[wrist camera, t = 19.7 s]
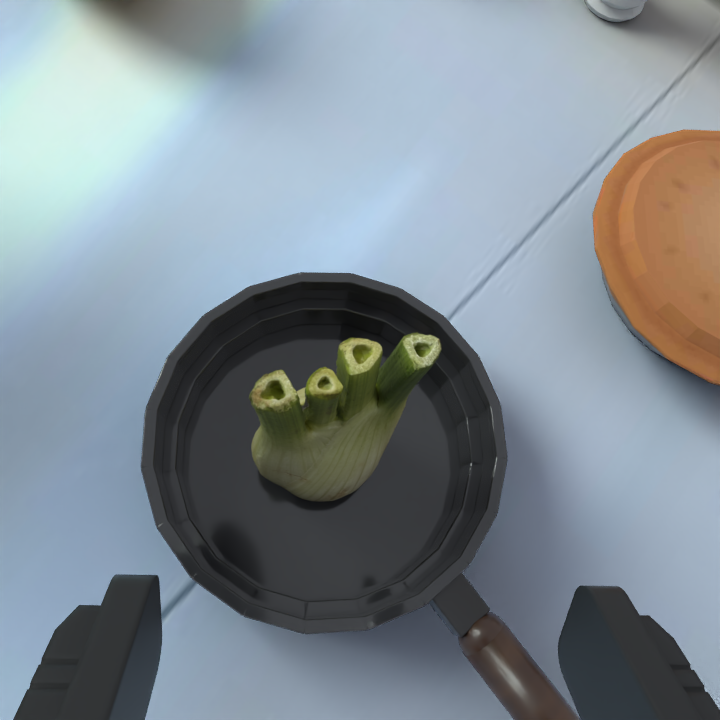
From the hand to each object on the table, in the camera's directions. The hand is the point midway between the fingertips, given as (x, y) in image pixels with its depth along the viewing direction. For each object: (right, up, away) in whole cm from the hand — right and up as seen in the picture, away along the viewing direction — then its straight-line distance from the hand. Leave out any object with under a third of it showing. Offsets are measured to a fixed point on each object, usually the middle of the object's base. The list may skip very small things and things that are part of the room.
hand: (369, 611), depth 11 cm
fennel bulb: (-2, 0, +17) cm, 17 cm away
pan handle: (+7, -10, +12) cm, 17 cm away
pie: (+19, +9, +23) cm, 31 cm away
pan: (-2, 0, +17) cm, 17 cm away
